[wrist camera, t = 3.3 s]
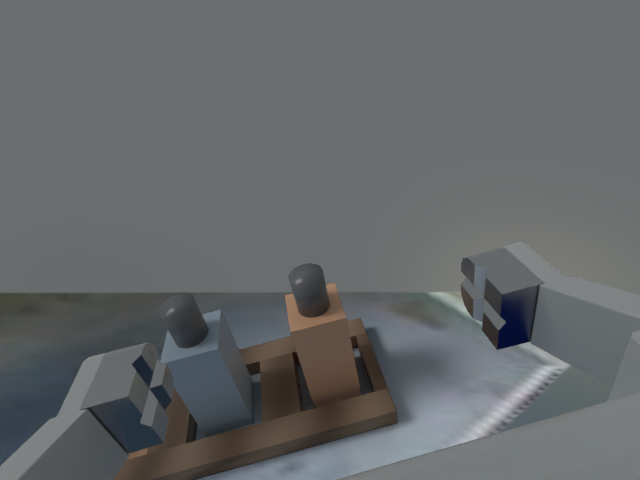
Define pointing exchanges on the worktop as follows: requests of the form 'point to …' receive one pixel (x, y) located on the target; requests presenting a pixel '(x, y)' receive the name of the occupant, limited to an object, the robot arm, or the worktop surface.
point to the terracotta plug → (321, 337)
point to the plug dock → (264, 418)
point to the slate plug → (206, 366)
